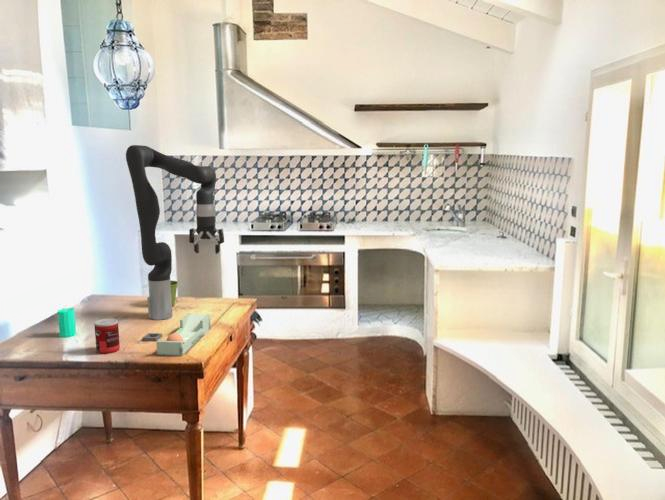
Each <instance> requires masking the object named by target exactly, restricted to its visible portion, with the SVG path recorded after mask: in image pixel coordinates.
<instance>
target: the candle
mask: <svg viewBox="0 0 665 500" xmlns="http://www.w3.org/2000/svg"><path fill="white" fill-rule="evenodd" d="M75 317H76V316H75V308H73V307H70V308H69V307H68V308H67V306H66V305H65V307H64V308H61V309H57V319H58V331H59V333H58V334H59V338H64V339H65V338H72V337H75V336H76V335H77V330H76V329H77V327H76V318H75Z"/></svg>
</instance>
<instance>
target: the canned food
mask: <svg viewBox="0 0 665 500" xmlns="http://www.w3.org/2000/svg"><path fill="white" fill-rule="evenodd" d="M94 334H95V335H94V336H95V346H96V347H95V348H96V352H97V354H101V355H109V354H113V353H116V352H118V351H120V348H121V346H120V343H121V342H120V331H119V320H118V319H117V318H104V319H99V320H96V321H95V322H94Z"/></svg>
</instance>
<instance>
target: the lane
mask: <svg viewBox="0 0 665 500" xmlns="http://www.w3.org/2000/svg"><path fill="white" fill-rule="evenodd" d="M179 324H180V325H179V328H178V329H177V330H176V331H175V332H174V333H177V334H179V335H181V336H182V338H183V341H166V340H167V338H166V339H165V340H157V341H155V342H156V343H155V344H156V356H167V357H168V356H169V357H171V356H172V357H173V356H174V357H183V356H184V355H185V354H186V353H187V352H188V351H189V350H190V349H191V348H192V347H193V346H194V345H195V344H196V343H197V342H198V341H200V339H201V338H202V337H204V336H205V335H206V334H207V333H208V332H210V330H211V314H209V313H207V314H206V313H187V314H186V315H184V316H183V317H181V318H180V319H179Z"/></svg>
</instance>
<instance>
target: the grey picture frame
mask: <svg viewBox="0 0 665 500" xmlns="http://www.w3.org/2000/svg"><path fill="white" fill-rule="evenodd" d="M162 337H163V333H158V332H157V333H156V332H151V333H150V332H148V333H146V334H145V335H144V336H143V337H142V342H157V341H160V339H161V338H162Z"/></svg>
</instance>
